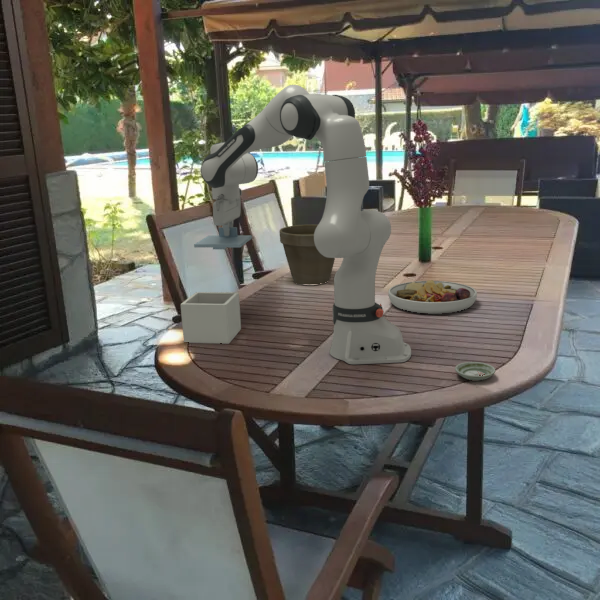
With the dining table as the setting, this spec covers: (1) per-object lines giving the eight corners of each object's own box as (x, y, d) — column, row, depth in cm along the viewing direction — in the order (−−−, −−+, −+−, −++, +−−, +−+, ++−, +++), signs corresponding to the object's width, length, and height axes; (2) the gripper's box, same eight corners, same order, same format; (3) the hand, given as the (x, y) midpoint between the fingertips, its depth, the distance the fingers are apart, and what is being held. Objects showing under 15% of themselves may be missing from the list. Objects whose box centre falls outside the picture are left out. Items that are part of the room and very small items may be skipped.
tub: (241, 329, 203) (238, 292, 200) (228, 343, 190) (226, 304, 187) (198, 328, 206) (195, 292, 203) (183, 342, 193) (180, 304, 189)
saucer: (468, 367, 166) (469, 358, 165) (502, 377, 159) (503, 367, 158) (446, 378, 159) (447, 368, 159) (481, 388, 153) (481, 379, 152)
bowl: (371, 307, 223) (370, 285, 221) (418, 289, 244) (418, 269, 242) (447, 322, 203) (448, 298, 201) (492, 302, 224) (493, 280, 222)
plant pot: (355, 281, 258) (354, 228, 252) (306, 292, 244) (304, 236, 238) (316, 271, 278) (315, 222, 272) (269, 281, 263) (267, 229, 258)
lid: (252, 241, 214) (251, 226, 213) (240, 250, 200) (239, 234, 199) (209, 241, 217) (207, 226, 216) (194, 250, 203) (193, 234, 201)
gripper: (226, 196, 199) (229, 240, 203) (243, 189, 218) (245, 229, 222) (206, 196, 200) (209, 240, 204) (225, 189, 219) (227, 229, 223)
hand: (228, 234), depth 213 cm, fingers closed on lid
